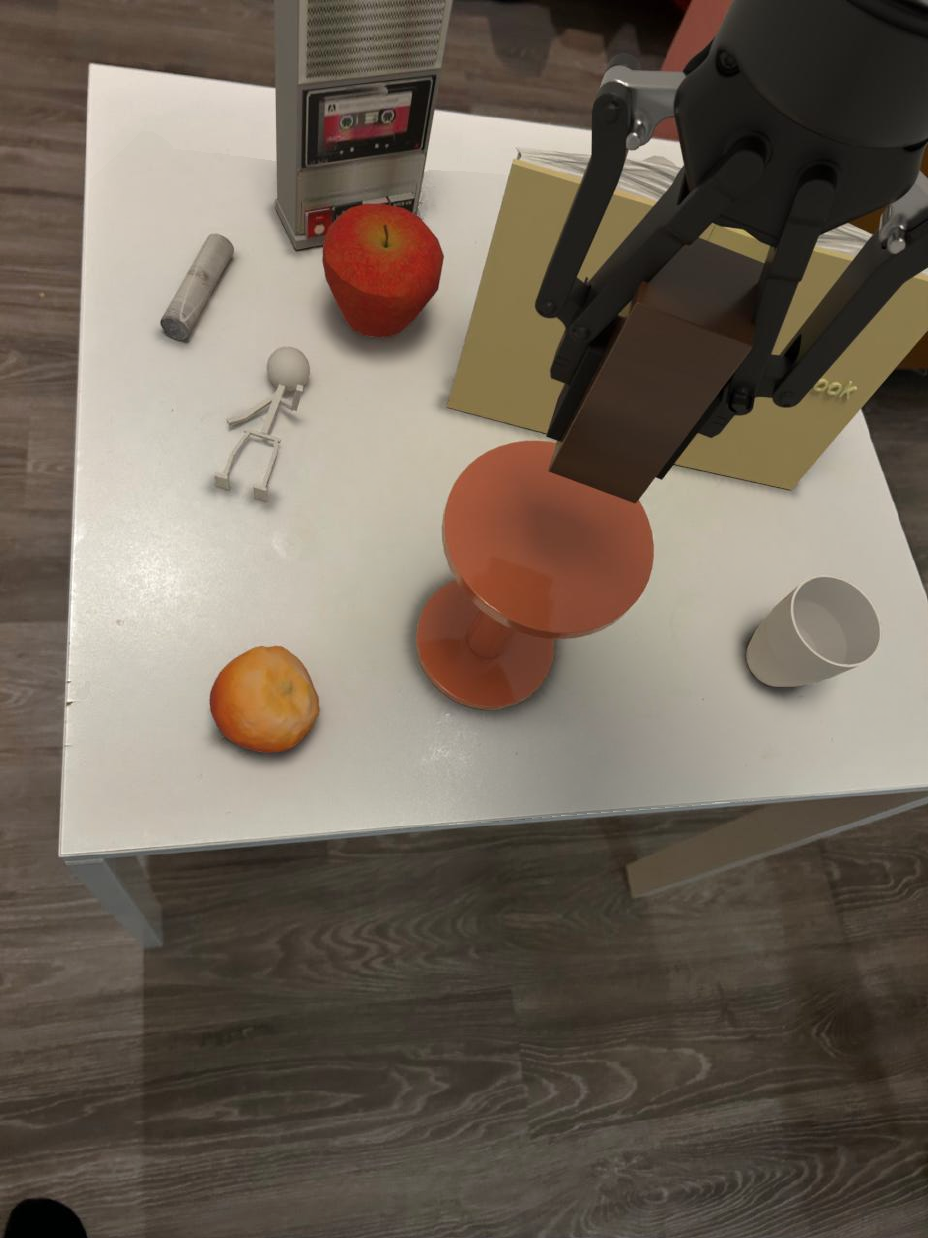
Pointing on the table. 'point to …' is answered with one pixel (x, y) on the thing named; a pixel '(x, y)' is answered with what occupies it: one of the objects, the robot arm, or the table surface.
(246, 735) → the fruit
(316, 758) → the table surface
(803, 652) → the cup
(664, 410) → the walnut block
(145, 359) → the table surface
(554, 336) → the book
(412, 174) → the cassette tape recorder
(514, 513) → the orange pedestal stand
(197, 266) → the rod
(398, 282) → the apple
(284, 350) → the figurine
